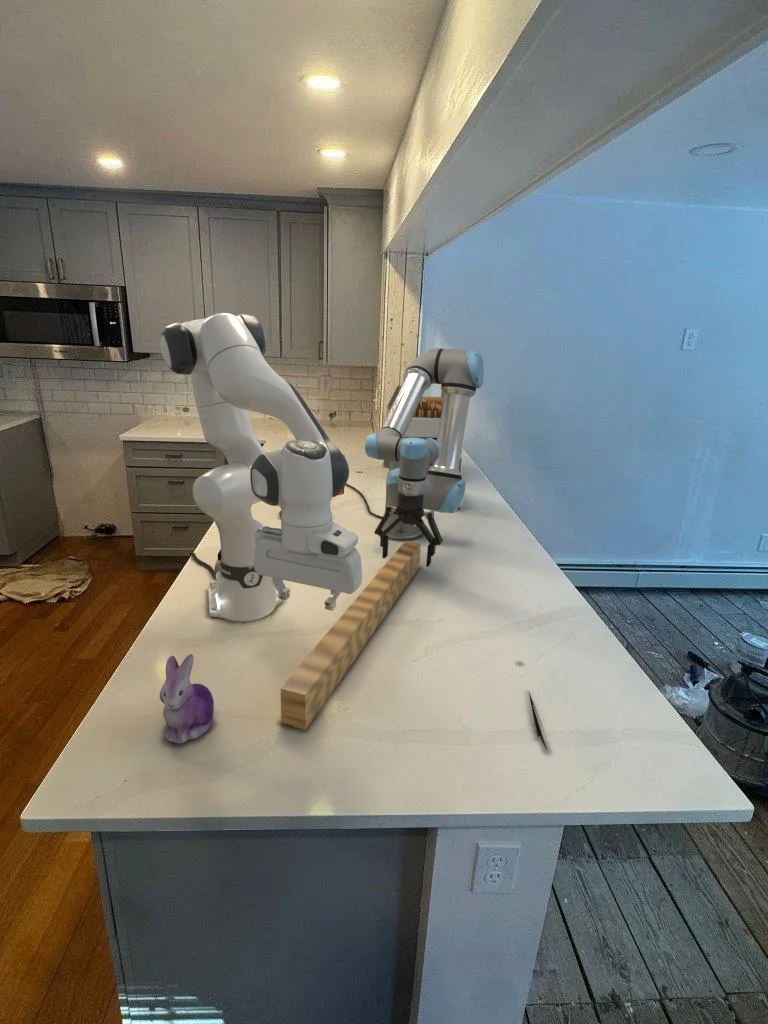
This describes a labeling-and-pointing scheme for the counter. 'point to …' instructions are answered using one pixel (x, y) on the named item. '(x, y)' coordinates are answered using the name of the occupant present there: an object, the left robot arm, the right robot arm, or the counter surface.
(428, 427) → the transformer
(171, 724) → the figurine
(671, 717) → the counter surface
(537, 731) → the feather
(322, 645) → the bar
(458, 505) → the right robot arm
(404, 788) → the counter surface
